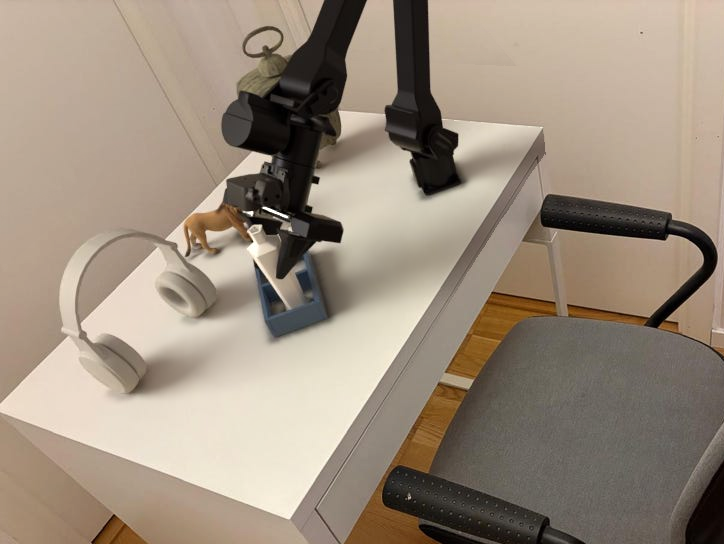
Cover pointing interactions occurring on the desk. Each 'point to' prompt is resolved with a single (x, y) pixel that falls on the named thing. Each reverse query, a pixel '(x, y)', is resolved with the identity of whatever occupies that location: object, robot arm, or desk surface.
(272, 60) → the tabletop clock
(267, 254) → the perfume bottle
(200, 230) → the lion figurine
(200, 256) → the desk surface
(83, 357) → the headphones
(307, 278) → the box
